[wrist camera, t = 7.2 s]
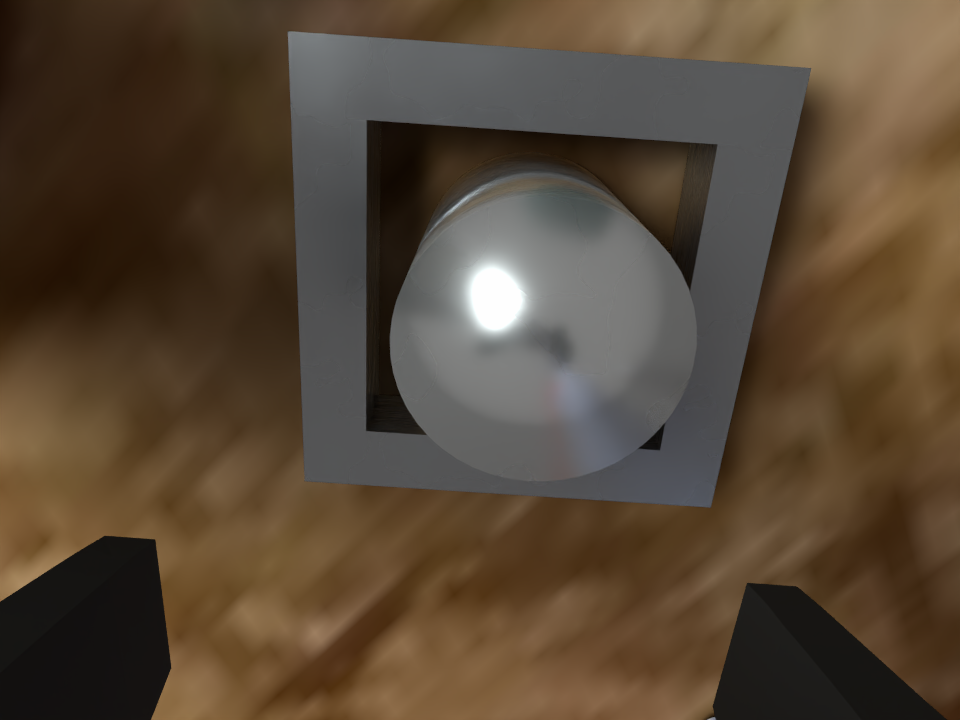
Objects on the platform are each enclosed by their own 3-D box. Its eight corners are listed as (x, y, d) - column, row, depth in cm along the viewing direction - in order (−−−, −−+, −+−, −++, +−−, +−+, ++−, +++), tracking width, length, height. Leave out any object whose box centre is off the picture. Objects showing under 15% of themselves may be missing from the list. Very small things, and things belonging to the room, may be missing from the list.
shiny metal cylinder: (626, 350, 18) (686, 477, 12) (431, 357, 18) (403, 485, 12) (633, 146, 16) (709, 189, 10) (415, 157, 16) (374, 202, 11)
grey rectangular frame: (772, 68, 15) (811, 68, 13) (689, 464, 19) (710, 507, 17) (313, 35, 15) (288, 31, 13) (323, 441, 19) (304, 481, 17)
